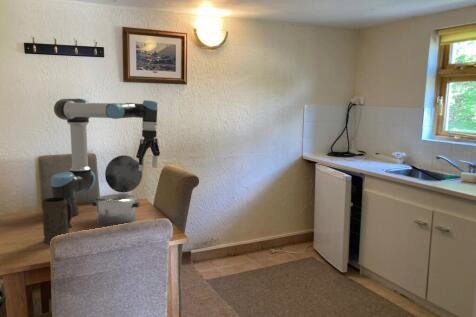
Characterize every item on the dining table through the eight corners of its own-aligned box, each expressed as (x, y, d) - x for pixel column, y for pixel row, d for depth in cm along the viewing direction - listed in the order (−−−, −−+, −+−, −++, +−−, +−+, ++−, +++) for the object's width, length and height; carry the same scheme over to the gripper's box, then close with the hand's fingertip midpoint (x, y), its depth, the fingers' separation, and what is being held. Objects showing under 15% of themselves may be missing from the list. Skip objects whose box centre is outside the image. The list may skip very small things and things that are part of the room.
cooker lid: (106, 154, 220) (108, 155, 223) (104, 192, 218) (106, 191, 222) (142, 155, 219) (144, 156, 222) (140, 193, 217) (142, 192, 221)
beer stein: (58, 245, 173) (58, 201, 171) (37, 243, 175) (36, 200, 173) (79, 236, 188) (78, 195, 186) (59, 234, 190) (59, 194, 188)
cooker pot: (85, 225, 201) (84, 202, 199) (102, 213, 222) (102, 192, 220) (133, 226, 200) (132, 204, 198) (145, 214, 221) (145, 194, 219)
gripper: (143, 131, 193) (141, 173, 196) (167, 129, 216) (165, 166, 219) (130, 130, 195) (128, 171, 198) (155, 128, 219) (153, 165, 221)
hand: (148, 169), depth 208 cm, fingers open, 13 cm apart
